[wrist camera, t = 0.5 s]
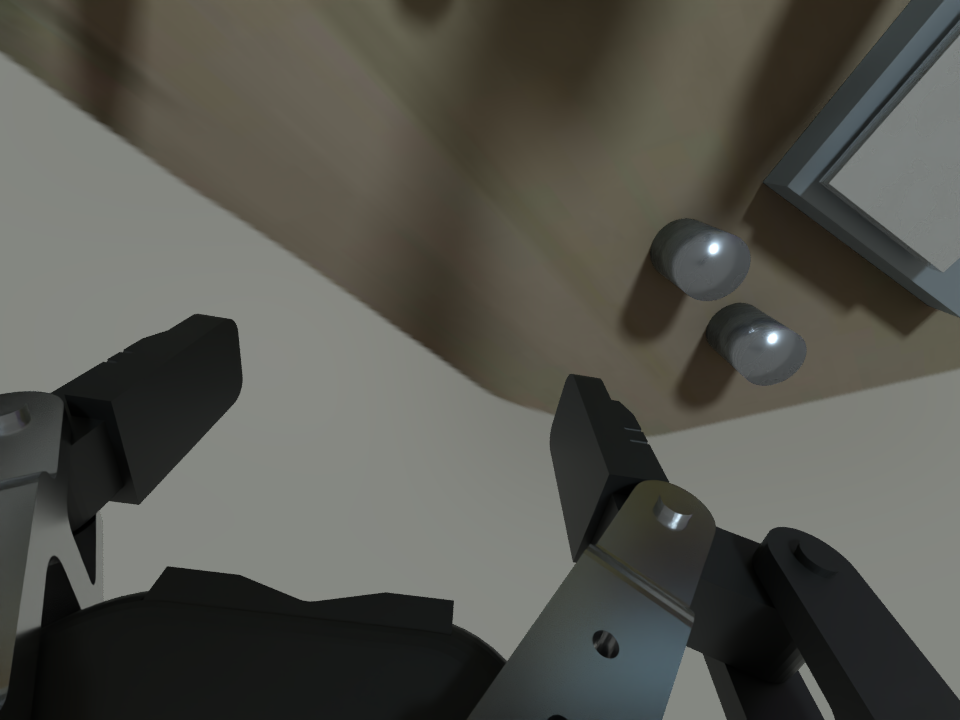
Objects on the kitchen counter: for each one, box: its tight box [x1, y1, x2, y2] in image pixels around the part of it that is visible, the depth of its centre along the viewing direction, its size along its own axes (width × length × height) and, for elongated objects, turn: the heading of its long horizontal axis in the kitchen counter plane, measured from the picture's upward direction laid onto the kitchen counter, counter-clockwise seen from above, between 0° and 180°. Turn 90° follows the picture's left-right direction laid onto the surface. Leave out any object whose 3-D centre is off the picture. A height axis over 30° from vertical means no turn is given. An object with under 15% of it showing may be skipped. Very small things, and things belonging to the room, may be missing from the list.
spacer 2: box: [706, 303, 806, 386], centre depth 36 cm, size 5×5×6 cm
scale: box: [763, 0, 960, 318], centre depth 31 cm, size 14×20×4 cm
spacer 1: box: [650, 218, 750, 301], centre depth 33 cm, size 5×5×6 cm
